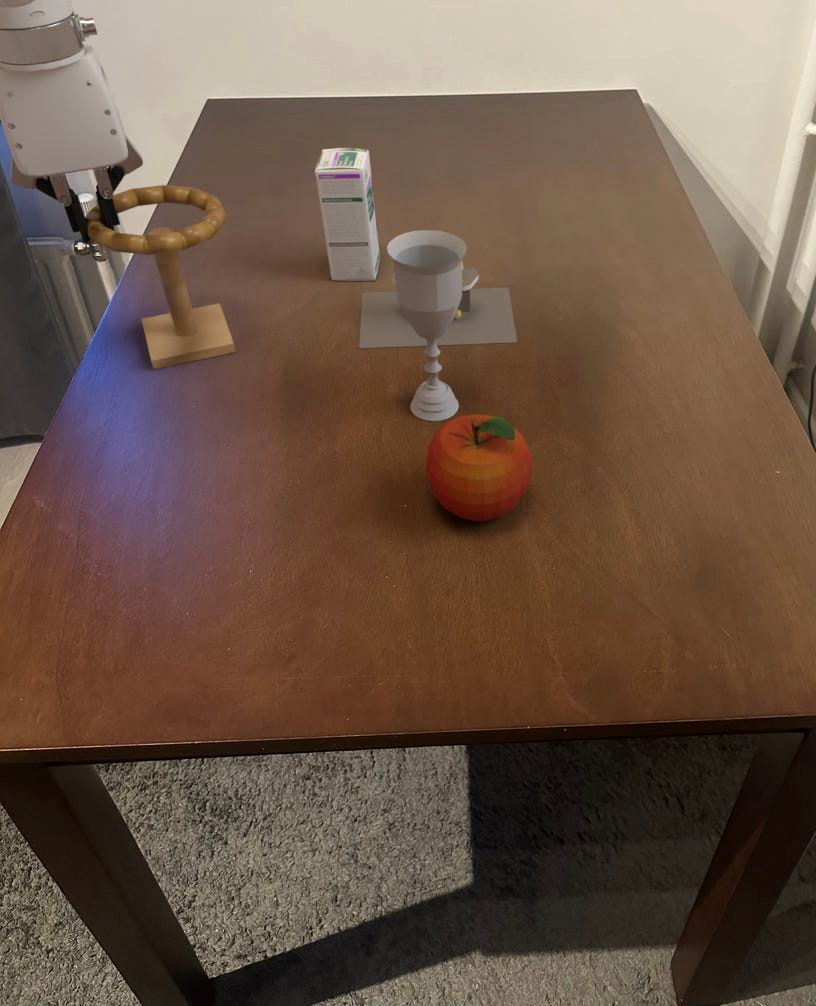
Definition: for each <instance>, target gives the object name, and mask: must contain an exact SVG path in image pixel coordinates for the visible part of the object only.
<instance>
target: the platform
mask: <svg viewBox="0 0 816 1006" xmlns="http://www.w3.org/2000/svg"><path fill="white" fill-rule="evenodd" d="M463 263H464V262H463V261H462V298H461V301H460V303H459V306H458V309H457V312H456V314H455V317H454V319H453V320H452V322H451V324H450V326H449V328H448V329H447V331H446V333H445V335H444V336H442V337H440V338H438V339H437V340H436V344H437V346H454V345H455V346H456V345H457V346H459V345H484V344H485V345H486V344H487V345H488V344H512V343H518V337H517V330H516V325H515V319H514V318H515V317H514V311H513V307H512V300H511V294H510V287H484V288H483V287H482V288H481V287H480V288H479V287H478V288H473V287H474V286H475V284H476V283H478V281H479V276H480V275H479V269H477V268H464V264H463ZM391 280H392V283H393V284H394V285H396V283H395V270H394V271H393V272H392V273H391ZM359 324H360V325H359V341H358V343H359V344H358V349H376V348H378V349H379V348H404V347H406V348H407V347H426V345H427V340H426V339H424V338H421V337H420V336H418V334H417V333H416V332H415V330H414V329H413V327H412V326H411V324H410V323H409V321H408V320H407V318H406V317H405V315H404V313H403V310H402V308H401V306H400V304H399V302H398V300H397V295H396V290H394V291H393V290H392V291H366V292H362V293H361V307H360V323H359Z"/></svg>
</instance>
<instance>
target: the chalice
mask: <svg viewBox="0 0 816 1006" xmlns="http://www.w3.org/2000/svg"><path fill="white" fill-rule="evenodd" d="M386 251H387V254H388V255H389V257H390V258H391V260H392V262H393V267H394V269H393V270H394V271H395V283H396V284H395V291H396V295H397V300H398V302H399V304H400V306H401V308H402V310H403V313H404V315H405V317H406V318H407V320H408V321H409V323H410V324H411V326H412V327H413V329H414V330H415V332H416V333H417V334H418V336H420V337H421V338H424V339H426V340H427V345H426V346H425V349H424V350H423V355H424V356H425V357H426V359H427V362H426V364H425V365H424V366H423V370H424V371H425V372H427V375H428V377H427V380H426V381H424V382H423V383H421V384H420V385H418V387H417V389H416V391H415V393H414V396H413V398H412V400H411V402H410V405H409V406H410V411H411V413H412V414H413V415H414V416H415V417H417V418H418V419H420V420H423V421H427V422H428V421H429V422H439V421H445V420H447V419H450V418H451V417H453V416H455V415H456V414H457V412H458V410H459V407H460V404H459V400H458V399H457V398H456V395H455V394H454V392H453V391H452V388H451V387H450V385H449V384H447V382H445V381H443V380H439V373H440V371H441V370H442V369H443V368H442V364H440V363H439V362H438V361H439V360H438V358H439V356H440V355H441V350H440V349H439V348H438V345H437V344H436V340H437V339H438V338H440V337H442V336H444V335H445V333H446V331H447V329H448V328H449V326H450V324H451V322H452V320H453V319H454V317H455V314H456V312H457V309H458V306H459V303H460V301H461V298H462V262H463V259H464V257H465V256H466V254H467V251H468V247H467V244H466V242H465V241H464V240H463V239H462V238H461V237H459V236H457V235H455V234H453V233H450V232H446V231H442V230H434V229H423V230H422V229H421V230H413V231H407V232H404V233H402V234H399V235H397V236H395V237H394V238H393V239H392V240H390V241H389V242H388V244H387V246H386Z"/></svg>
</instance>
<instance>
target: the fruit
mask: <svg viewBox="0 0 816 1006" xmlns="http://www.w3.org/2000/svg"><path fill="white" fill-rule="evenodd" d="M425 465H426V466H425V473H426V475H427V481H428V483H429V486H430V490H431V492H432V494H433V495H434V497H435V498H436V500H437V501H438V503H440V504H441V505H442V507H443V508H444V509H445V510H447V511H448V512H450V513H452V514H454V515H455V516H457V517H459V518H461V519H464V520H468V521H471V522H487V521H491V520H496V519H498V518H499V517H502V516H504V515H505V514H508V512H509V511H511V510H512V509H513V508H514V507H515V506H516V505H518V503H520V501H521V499H522V498H523V496H524V494H525V492H526V490H527V489H528V486H529V485H530V483H531V477H532V471H533V470H532V469H533V458H532V452H531V449H529V446H528V444H527V442H526V440H525V438H524V436H523V434H522V433H520V432H519V431H518V430H517V429H516V428H515V427H514V426H513V425H512V423H511V422H510V421H508V420H506V419H505V418H503V417H502V416H492V415H488V414H466V415H462V416H458V417H455V418H453V419H451V420H449V421H448V422H446V423H445V424H443V425H442V426H440V427H439V428H437V430H436V432H435V434H434V436H433V437H432V438H431V441H430V442H429V444H428V446H427V454H426V464H425Z"/></svg>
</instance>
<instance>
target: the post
mask: <svg viewBox="0 0 816 1006" xmlns="http://www.w3.org/2000/svg"><path fill="white" fill-rule="evenodd" d="M170 232H173V230H172V229H171V228H169V227H164V226H163V227H162V226H161V227H155V228H153V229H151V230H150V231H149V232H148V234H147V236H148V235H155V234H162V233H170ZM153 257H154V260H155V264H156V267H157V272H158V274H159V277H160V281H161V285H162V289H163V293H164V296H165V299H166V303H167V306H168V310H169V312H168V313H163V314H157V315H154V316H149V317H148V316H147V317H143V318H141V323H142V327H143V332H144V336H145V341H146V345H147V349H148V354H149V358H150V362H151V366H152V369H153V370H158V369H163V368H167V367H173V366H176V365H181V364H186V363H191V362H196V361H201V360H205V359H209V358H214V357H220V356H224V355H228V354H233V353H236V346H235V343H234V340H233V337H232V334H231V331H230V328H229V326H228V322H227V320H226V317H225V315H224V311H223V309H222V305H221V303H214V304H209V305H203V306H199V307H194V308H193V306H192V302H191V298H190V294H189V291H188V288H187V283H186V279H185V275H184V272H183V267H182V264H181V260H180V257H179V251H173V252H166V253H159V254H153Z"/></svg>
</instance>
